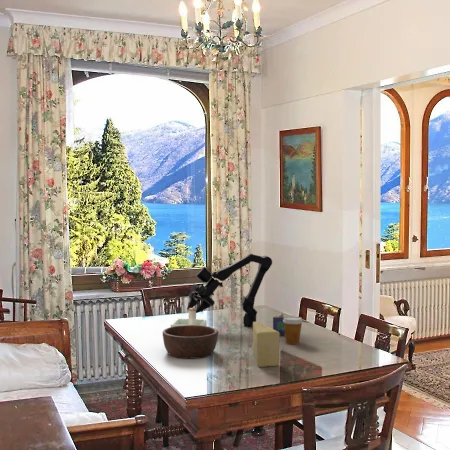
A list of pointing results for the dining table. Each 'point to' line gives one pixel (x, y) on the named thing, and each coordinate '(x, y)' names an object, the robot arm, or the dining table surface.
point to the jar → (192, 316)
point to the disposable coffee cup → (292, 329)
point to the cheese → (265, 345)
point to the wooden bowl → (190, 341)
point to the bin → (186, 322)
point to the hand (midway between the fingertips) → (191, 311)
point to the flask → (279, 324)
